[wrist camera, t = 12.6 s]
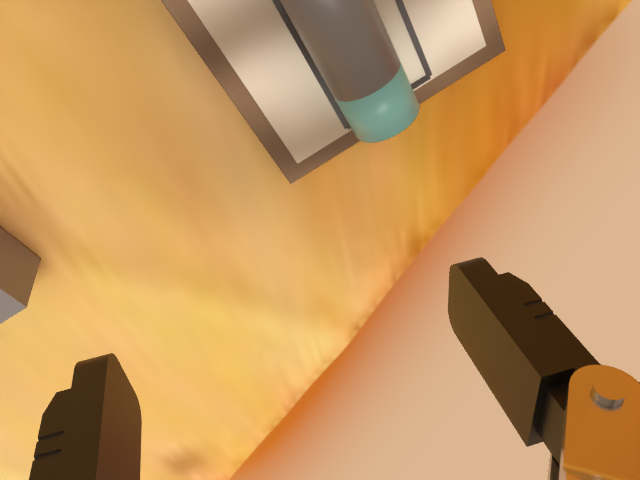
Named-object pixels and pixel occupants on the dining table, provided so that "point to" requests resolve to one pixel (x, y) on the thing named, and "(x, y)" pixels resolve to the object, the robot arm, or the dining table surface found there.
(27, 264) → the button base
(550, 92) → the dining table surface
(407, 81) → the marker
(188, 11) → the framed square panel
